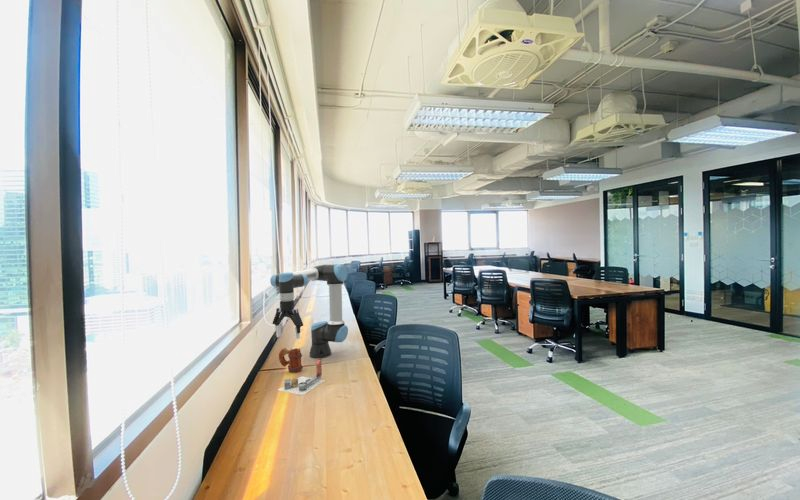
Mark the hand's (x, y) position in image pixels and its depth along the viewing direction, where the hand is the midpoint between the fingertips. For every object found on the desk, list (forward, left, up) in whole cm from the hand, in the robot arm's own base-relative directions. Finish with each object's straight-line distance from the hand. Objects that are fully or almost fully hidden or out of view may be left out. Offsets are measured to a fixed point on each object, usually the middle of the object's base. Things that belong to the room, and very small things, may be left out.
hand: (288, 337), depth 181 cm
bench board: (0, +8, -27) cm, 28 cm away
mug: (-15, -12, -27) cm, 33 cm away
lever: (-3, +13, -25) cm, 28 cm away
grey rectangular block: (+5, +3, -26) cm, 26 cm away
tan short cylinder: (+2, +6, -26) cm, 26 cm away
